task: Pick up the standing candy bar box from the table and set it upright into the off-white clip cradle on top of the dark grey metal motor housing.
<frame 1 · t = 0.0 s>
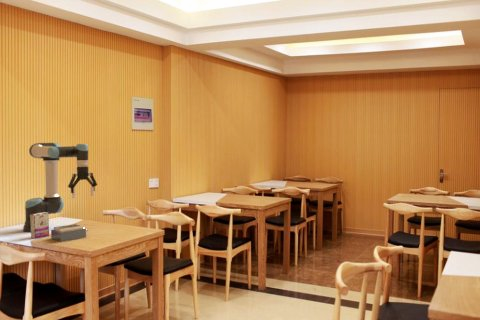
hand: (83, 197, 314), 28 cm above the table, tool pointing down, fingers open, 13 cm apart
candy bar box: (40, 237, 317), on the table
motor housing: (68, 238, 313), on the table
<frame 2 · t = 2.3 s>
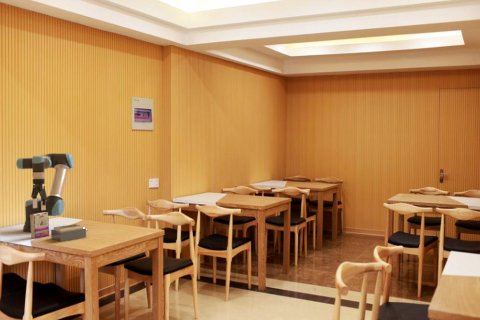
hand: (39, 209, 315), 19 cm above the table, tool pointing down, fingers open, 13 cm apart
nothing on the table moved.
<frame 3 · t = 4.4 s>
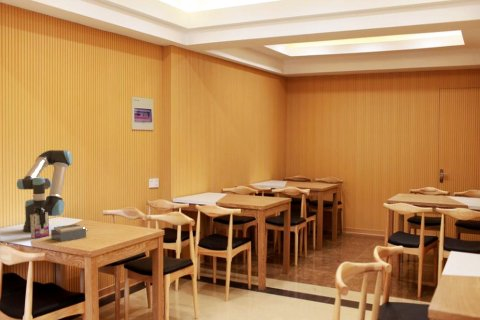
hand: (39, 232, 317), 3 cm above the table, tool pointing down, fingers closed on candy bar box, 6 cm apart
candy bar box: (40, 237, 317), on the table, touching gripper
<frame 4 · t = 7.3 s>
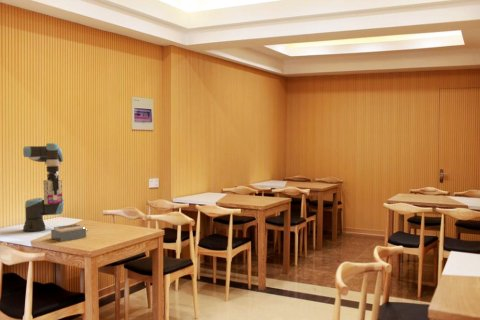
hand: (53, 199, 313), 26 cm above the table, tool pointing down, fingers closed on candy bar box, 6 cm apart
candy bar box: (53, 203, 313), point 23 cm above the table, touching gripper
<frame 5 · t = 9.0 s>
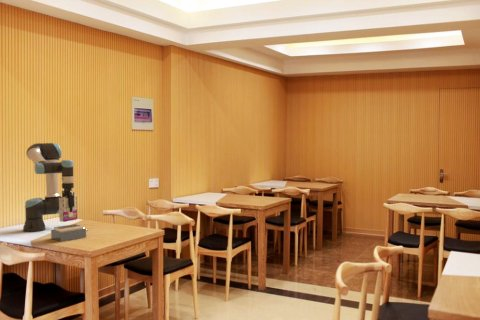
hand: (68, 216, 312), 15 cm above the table, tool pointing down, fingers closed on candy bar box, 6 cm apart
candy bar box: (68, 220, 312), point 12 cm above the table, touching gripper
when the fingers open (11 cm above the table, at t = 10.2 s): candy bar box drops 2 cm, resting on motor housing.
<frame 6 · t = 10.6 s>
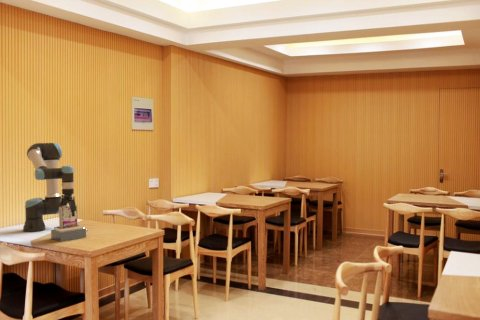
hand: (68, 219, 312), 12 cm above the table, tool pointing down, fingers open, 11 cm apart
candy bar box: (68, 229, 313), point 6 cm above the table, touching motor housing
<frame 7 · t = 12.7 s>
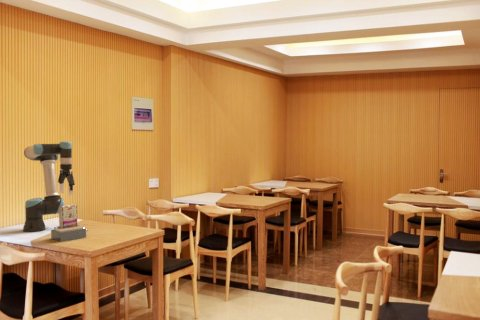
hand: (66, 194, 319), 29 cm above the table, tool pointing down, fingers open, 13 cm apart
nothing on the table moved.
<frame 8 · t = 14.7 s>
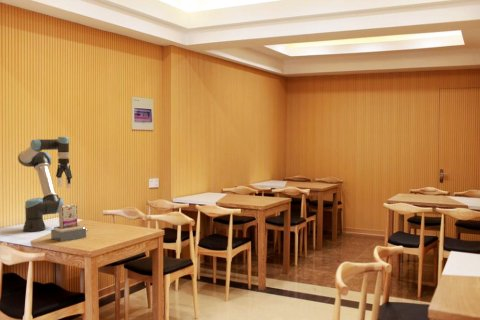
hand: (64, 187, 330), 33 cm above the table, tool pointing down, fingers open, 13 cm apart
nothing on the table moved.
at the end: candy bar box 0.3 cm off-centre on the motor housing, point 5.8 cm above the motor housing's base; candy bar box tilted 0°; the gripper is holding nothing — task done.
